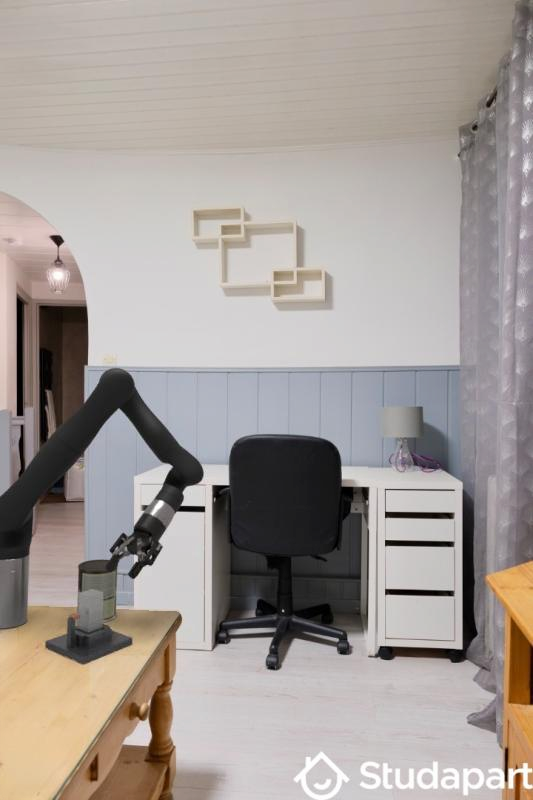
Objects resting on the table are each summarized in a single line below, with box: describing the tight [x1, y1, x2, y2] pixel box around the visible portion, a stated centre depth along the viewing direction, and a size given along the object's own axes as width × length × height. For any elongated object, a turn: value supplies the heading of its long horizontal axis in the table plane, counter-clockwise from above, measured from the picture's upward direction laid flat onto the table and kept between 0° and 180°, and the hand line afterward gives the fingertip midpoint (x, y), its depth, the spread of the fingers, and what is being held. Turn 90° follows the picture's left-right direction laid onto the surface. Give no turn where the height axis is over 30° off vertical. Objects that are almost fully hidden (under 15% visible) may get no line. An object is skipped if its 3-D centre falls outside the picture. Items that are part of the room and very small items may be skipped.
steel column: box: [77, 589, 103, 634], centre depth 135 cm, size 4×4×11 cm
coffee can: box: [76, 559, 119, 624], centre depth 154 cm, size 10×10×14 cm
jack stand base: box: [44, 612, 133, 665], centre depth 135 cm, size 14×14×8 cm
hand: (119, 573), depth 142 cm, fingers open, 8 cm apart
